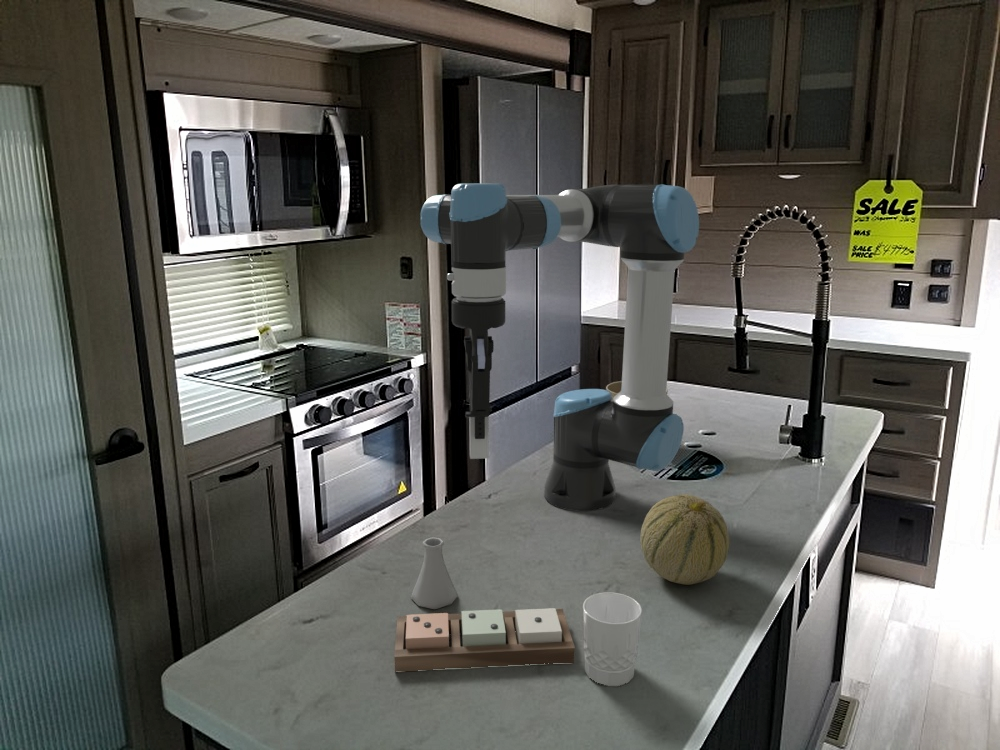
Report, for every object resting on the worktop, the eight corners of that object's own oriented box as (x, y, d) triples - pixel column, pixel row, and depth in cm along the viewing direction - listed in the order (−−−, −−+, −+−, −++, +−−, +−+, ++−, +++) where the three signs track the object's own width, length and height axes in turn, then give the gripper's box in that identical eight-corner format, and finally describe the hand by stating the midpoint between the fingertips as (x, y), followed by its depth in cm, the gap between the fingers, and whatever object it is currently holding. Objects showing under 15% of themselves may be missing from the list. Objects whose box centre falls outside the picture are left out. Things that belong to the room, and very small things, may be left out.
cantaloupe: (652, 550, 141) (656, 473, 137) (734, 568, 134) (741, 489, 130) (626, 587, 128) (630, 504, 124) (715, 609, 121) (722, 522, 118)
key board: (398, 631, 116) (397, 616, 115) (562, 623, 118) (562, 608, 117) (395, 672, 106) (394, 656, 105) (574, 663, 108) (574, 647, 107)
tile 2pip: (461, 630, 114) (461, 609, 113) (501, 628, 115) (501, 608, 114) (463, 654, 108) (463, 633, 108) (505, 652, 109) (505, 631, 108)
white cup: (631, 653, 110) (635, 591, 108) (643, 689, 103) (647, 623, 100) (577, 654, 110) (579, 592, 108) (585, 690, 102) (587, 624, 100)
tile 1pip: (515, 628, 115) (515, 608, 114) (554, 627, 115) (555, 606, 115) (519, 653, 109) (519, 631, 108) (561, 651, 110) (561, 630, 109)
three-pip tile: (407, 633, 114) (406, 613, 113) (448, 632, 114) (447, 611, 113) (406, 658, 108) (405, 637, 107) (449, 656, 108) (448, 635, 107)
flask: (434, 581, 130) (433, 527, 127) (466, 596, 125) (465, 540, 123) (402, 599, 124) (400, 543, 122) (434, 615, 120) (433, 557, 117)
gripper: (450, 290, 113) (452, 442, 119) (452, 305, 100) (454, 474, 106) (501, 290, 113) (500, 441, 119) (509, 304, 101) (508, 472, 107)
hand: (479, 456), depth 113 cm, fingers closed
